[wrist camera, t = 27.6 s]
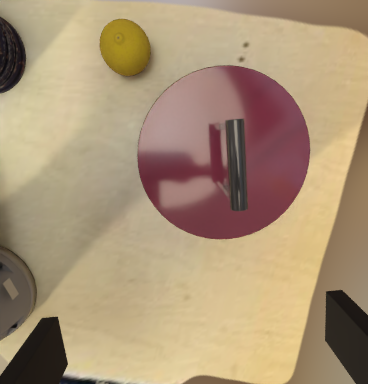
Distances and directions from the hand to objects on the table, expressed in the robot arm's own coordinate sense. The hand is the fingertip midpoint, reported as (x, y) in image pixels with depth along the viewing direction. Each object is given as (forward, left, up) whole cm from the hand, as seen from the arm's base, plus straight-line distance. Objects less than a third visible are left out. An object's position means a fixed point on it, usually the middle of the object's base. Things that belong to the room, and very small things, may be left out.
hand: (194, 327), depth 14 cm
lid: (+5, +6, -20) cm, 22 cm away
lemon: (-5, +19, -27) cm, 33 cm away
